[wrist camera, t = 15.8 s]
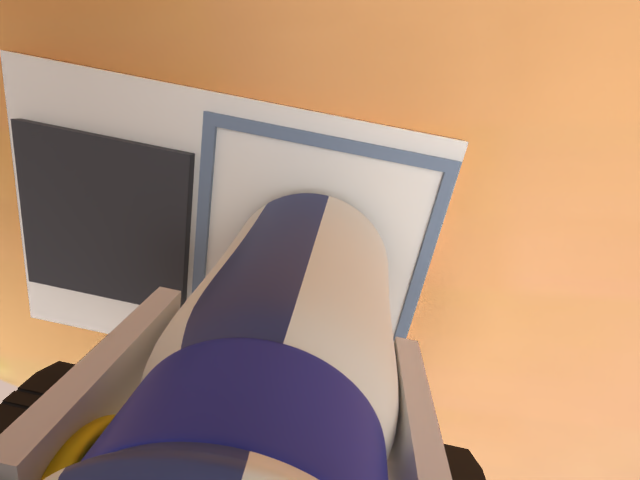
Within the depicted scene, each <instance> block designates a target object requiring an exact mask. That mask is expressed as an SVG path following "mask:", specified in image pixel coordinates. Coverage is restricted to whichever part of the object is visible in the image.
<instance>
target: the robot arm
mask: <svg viewBox="0 0 640 480" xmlns="http://www.w3.org/2000/svg"><path fill="white" fill-rule="evenodd" d="M180 304H181V291H178V290H174V289H169V288H164V287H159V288H158V289H157V290H155V291H154V292H153V293H152V294H151V295H150V296H149V297H148V298H147V299H146V300H145V301H144V302H142V303H141V304H140V305H139V306H138V307H137V308H136V309H135V310H134V311H133V312H132V313H131V314H130V315H128V316H127V317H126V318H125V319H124V320H123V321H122V322H121V323H120V324H119V325H118V326H117V327H115V328H114V329H113V330H112V331H111V332H110V333H109V334H108V335H107V336H106V337H105V338H104V339H103V340H101V341H100V342H99V343H98V344H97V345H96V346H95V347H94V348H93V349H92V350H91V351H90V352H89V353H87V354H86V355H85V356H84V357H83V358H82V359H81V360H80V361H79V362H78V363H77V364H76V365H75V364H70V363H66V362H61V361H58V362H56V363H54V364H52V365H50V366H48V367H46V368H44V369H42V370H40V371H38V372H36V373H35V374H34V375H33V376H31V377H30V378H29V379H28V380H27V381H25V382H24V383H23V384H22V385H21V386H20V387H18V390H17V391H14V392H12V393H11V394H10V395H9V396H8V397H6V398H5V399H4V400H3V402H2V403H1V404H0V480H41V478H42V476H43V474H44V472H45V470H46V469H47V467H48V465H49V464H50V462H51V461H52V459H53V458H54V456H55V455H56V454H57V452H58V451H59V450H60V448H61V447H62V446H63V445H64V444H65V442H66V441H67V440H68V439H69V438H70V437H71V436H72V435H73V434H74V433H75V432H77V431H78V430H79V429H80V428H82V427H83V426H85V425H86V424H88V423H89V422H91V421H93V420H95V419H97V418H100V417H103V416H107V415H113V414H117V413H118V412H119V410H120V409H121V408H122V407H123V405H124V404H125V403H126V401H127V400H128V399H129V397H130V396H131V395H132V394H133V392H134V391H135V390H136V388H137V387H138V386H139V384H140V383H141V379H142V376H143V372H144V369H145V366H146V364H147V361H148V359H149V357H150V355H151V353H152V351H153V348H154V346H155V344H156V343H157V341H158V339H159V338H160V336H161V334H162V333H163V331H164V330H165V329H166V327H167V326H168V324H169V323H170V321H171V320H172V318H173V317H174V315H175V314H176V313H177V312H178V310H179V309H180ZM394 348H395V356H396V365H397V375H398V402H399V411H398V420H397V426H396V432H395V438H394V442H393V446H392V449H391V452H390V454H389V457H388V460H387V468H388V480H486V479H485V476H484V473H483V470H482V468H481V467H480V465H479V464H478V462H477V461H476V460H475V458H474V457H473V455H472V454H471V452H470V451H469V450H468V449H464V448H460V447H455V446H451V445H446V444H443V440H442V436H441V432H440V428H439V424H438V420H437V416H436V412H435V408H434V404H433V400H432V396H431V392H430V388H429V384H428V380H427V376H426V372H425V368H424V363H423V359H422V355H421V351H420V347H419V343H418V341H414V340H410V339H405V338H400V337H395V341H394Z"/></svg>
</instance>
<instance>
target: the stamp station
mask: <svg viewBox="0 0 640 480" xmlns="http://www.w3.org/2000/svg"><path fill="white" fill-rule="evenodd" d="M0 55H1V63H2V72H3V81H4V89H5V98H6V107H7V115H8V124H9V133H10V141H11V150H12V159H13V167H14V176H15V184H16V193H17V202H18V210H19V219H20V228H21V236H22V245H23V254H24V262H25V271H26V280H27V288H28V297H29V305H30V314H31V317H32V318H37V319H41V320H46V321H51V322H55V323H60V324H64V325H69V326H74V327H78V328H83V329H88V330H92V331H97V332H101V333H106V334H109V333H110V332H111V331H112V330H113V329H114V328H115V327H117V326H118V325H119V324H120V323H121V322H122V321H123V320H124V319H125V318H126V317H127V316H128V315H130V314H131V313H132V312H133V311H134V310H135V309H136V308H137V307H138V306H139V305H140V304H141V303H142V302H144V301H145V300H146V299H147V298H148V297H149V296H150V295H151V294H152V293H153V292H154V291H155V290H157V289H158V288H159V287H164V288H169V289H174V290H178V291H181V304H180V308H181V307H182V305H183V304H184V303H185V301H186V300H187V299H188V298H189V297H190V295H191V294H192V293H193V292H194V291H195V289H196V288H197V287H198V286H199V285H200V283H201V282H202V281H203V280H204V278H205V277H206V276H207V275H208V274H209V272H210V271H211V270H212V269H213V268H214V266H215V265H216V264H217V262H218V261H219V260H220V258H221V257H222V256H223V255H224V253H225V252H226V250H227V249H228V248H229V246H230V245H231V244H232V242H233V241H234V239H235V238H236V236H237V235H238V234H239V232H240V231H241V229H242V228H243V226H244V225H245V223H246V222H247V221H248V220H249V218H250V217H251V216H252V215H253V214H254V213H255V212H256V211H257V210H259V209H260V208H261V207H263V206H264V205H266V204H267V203H269V202H271V201H273V200H275V199H278V198H281V197H284V196H287V195H292V194H299V193H315V194H322V195H327V196H331V197H334V198H337V199H339V200H342V201H344V202H346V203H348V204H349V205H351V206H353V207H354V208H356V209H357V210H358V211H360V212H361V213H362V214H363V215H364V216H365V217H366V218H367V219H368V220H369V221H370V222H371V223H372V224H373V226H374V227H375V228H376V230H377V231H378V233H379V235H380V237H381V239H382V241H383V243H384V246H385V249H386V253H387V259H388V279H389V301H390V314H391V324H392V332H393V340H394V341H395V337H400V338H405V339H406V337H407V334H408V331H409V328H410V325H411V322H412V319H413V315H414V312H415V309H416V306H417V303H418V300H419V297H420V293H421V290H422V287H423V284H424V281H425V278H426V275H427V271H428V268H429V265H430V262H431V259H432V256H433V253H434V249H435V246H436V243H437V240H438V237H439V234H440V231H441V227H442V224H443V221H444V218H445V215H446V212H447V208H448V205H449V202H450V199H451V196H452V193H453V190H454V186H455V183H456V180H457V177H458V174H459V171H460V168H461V164H462V161H463V158H464V155H465V152H466V149H467V146H468V142H467V141H464V140H459V139H454V138H449V137H444V136H439V135H433V134H428V133H423V132H418V131H413V130H408V129H403V128H398V127H393V126H388V125H383V124H378V123H372V122H367V121H362V120H357V119H352V118H347V117H342V116H337V115H332V114H327V113H322V112H317V111H311V110H306V109H301V108H296V107H291V106H286V105H281V104H276V103H271V102H266V101H261V100H256V99H250V98H245V97H240V96H235V95H230V94H225V93H220V92H215V91H210V90H205V89H200V88H195V87H189V86H184V85H179V84H174V83H169V82H164V81H159V80H154V79H149V78H144V77H139V76H134V75H128V74H123V73H118V72H113V71H108V70H103V69H98V68H93V67H88V66H83V65H78V64H73V63H67V62H62V61H57V60H52V59H47V58H42V57H37V56H32V55H27V54H22V53H17V52H10V51H4V50H0Z"/></svg>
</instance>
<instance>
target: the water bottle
mask: <svg viewBox="0 0 640 480" xmlns="http://www.w3.org/2000/svg"><path fill="white" fill-rule="evenodd" d="M398 411H399V402H398V375H397V365H396V356H395V348H394V340H393V332H392V324H391V314H390V301H389V279H388V259H387V253H386V249H385V246H384V243H383V241H382V239H381V237H380V235H379V233H378V231H377V230H376V228H375V227H374V226H373V224H372V223H371V222H370V221H369V220H368V219H367V218H366V217H365V216H364V215H363V214H362V213H361V212H360V211H358V210H357V209H356V208H354V207H353V206H351V205H349V204H348V203H346V202H344V201H342V200H339V199H337V198H334V197H331V196H327V195H322V194H315V193H299V194H292V195H287V196H284V197H281V198H278V199H275V200H273V201H271V202H269V203H267V204H266V205H264V206H263V207H261V208H260V209H259V210H257V211H256V212H255V213H254V214H253V215H252V216H251V217H250V218H249V220H248V221H247V222H246V223H245V225H244V226H243V228H242V229H241V231H240V232H239V234H238V235H237V236H236V238H235V239H234V241H233V242H232V244H231V245H230V246H229V248H228V249H227V250H226V252H225V253H224V255H223V256H222V257H221V258H220V260H219V261H218V262H217V264H216V265H215V266H214V268H213V269H212V270H211V271H210V272H209V274H208V275H207V276H206V277H205V278H204V280H203V281H202V282H201V283H200V285H199V286H198V287H197V288H196V289H195V291H194V292H193V293H192V294H191V295H190V297H189V298H188V299H187V300H186V301H185V303H184V304H183V305H182V307H181V308H180V309H179V310H178V312H177V313H176V314H175V315H174V317H173V318H172V320H171V321H170V323H169V324H168V326H167V327H166V329H165V330H164V331H163V333H162V334H161V336H160V338H159V339H158V341H157V343H156V344H155V346H154V348H153V351H152V353H151V355H150V357H149V359H148V361H147V364H146V366H145V369H144V372H143V376H142V379H141V383H140V384H139V386H138V387H137V388H136V390H135V391H134V392H133V394H132V395H131V396H130V397H129V399H128V400H127V401H126V403H125V404H124V405H123V407H122V408H121V409H120V410H119V412H118V413H117V414H113V415H107V416H103V417H100V418H97V419H95V420H93V421H91V422H89V423H88V424H86V425H85V426H83V427H82V428H80V429H79V430H78V431H77V432H75V433H74V434H73V435H72V436H71V437H70V438H69V439H68V440H67V441H66V442H65V444H64V445H63V446H62V447H61V448H60V450H59V451H58V452H57V454H56V455H55V456H54V458H53V459H52V461H51V462H50V464H49V465H48V467H47V469H46V470H45V472H44V474H43V476H42V478H41V480H388V468H387V460H388V457H389V454H390V452H391V449H392V446H393V442H394V438H395V432H396V426H397V420H398Z"/></svg>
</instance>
